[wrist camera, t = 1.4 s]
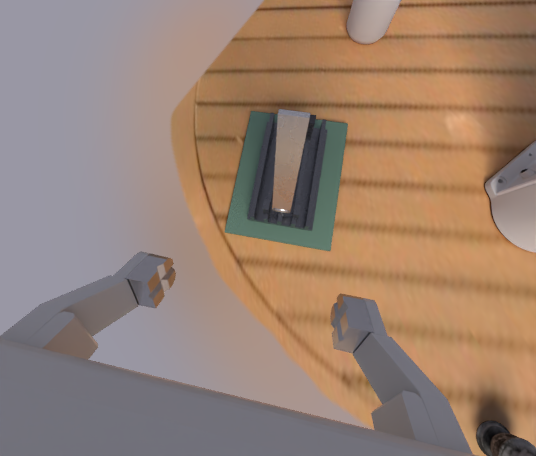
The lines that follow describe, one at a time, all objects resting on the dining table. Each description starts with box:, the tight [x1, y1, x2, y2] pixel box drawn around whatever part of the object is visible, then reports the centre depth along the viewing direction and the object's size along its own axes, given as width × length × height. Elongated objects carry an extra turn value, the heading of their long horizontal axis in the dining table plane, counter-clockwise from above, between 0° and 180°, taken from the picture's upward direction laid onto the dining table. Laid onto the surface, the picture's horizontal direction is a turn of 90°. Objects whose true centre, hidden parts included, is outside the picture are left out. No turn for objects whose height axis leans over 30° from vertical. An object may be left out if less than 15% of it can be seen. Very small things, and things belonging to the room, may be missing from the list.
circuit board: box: [225, 111, 348, 251], centre depth 39 cm, size 26×20×1 cm
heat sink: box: [247, 113, 328, 231], centre depth 36 cm, size 20×12×6 cm, turn 169°
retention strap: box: [272, 109, 310, 214], centre depth 26 cm, size 17×3×1 cm
